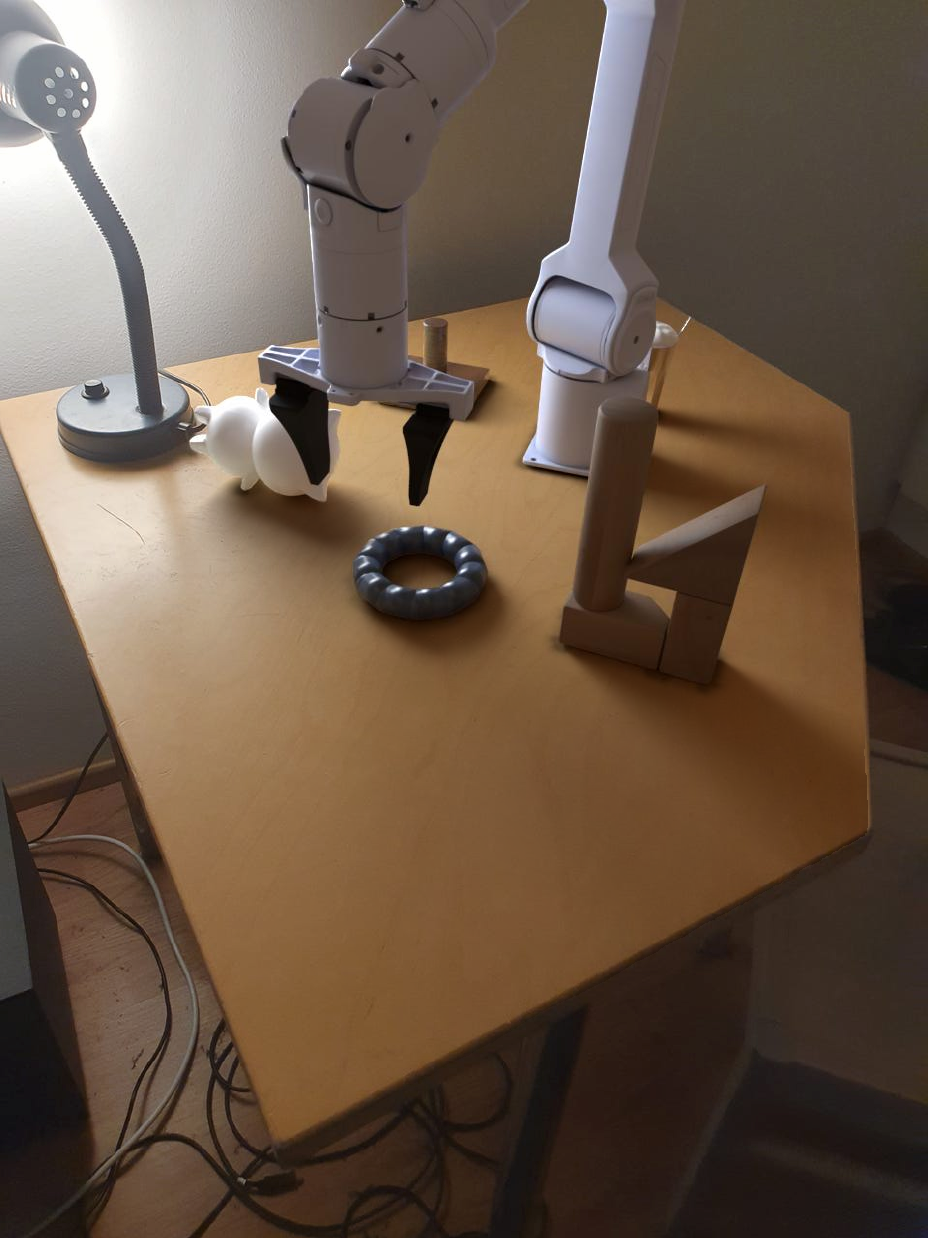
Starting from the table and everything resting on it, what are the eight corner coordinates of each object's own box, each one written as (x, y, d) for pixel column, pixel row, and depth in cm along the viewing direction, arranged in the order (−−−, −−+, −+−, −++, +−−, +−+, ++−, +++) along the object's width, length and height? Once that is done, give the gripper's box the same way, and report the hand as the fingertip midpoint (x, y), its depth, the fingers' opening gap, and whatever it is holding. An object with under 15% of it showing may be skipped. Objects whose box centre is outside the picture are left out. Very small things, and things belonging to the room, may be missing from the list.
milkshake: (674, 425, 89) (694, 326, 83) (619, 423, 89) (635, 324, 83) (667, 403, 93) (686, 306, 86) (614, 401, 93) (629, 304, 86)
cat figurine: (191, 371, 74) (322, 396, 70) (260, 390, 84) (377, 413, 80) (175, 478, 75) (303, 508, 72) (244, 484, 85) (359, 511, 82)
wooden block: (708, 688, 62) (777, 456, 50) (556, 645, 64) (588, 415, 53) (717, 654, 64) (785, 425, 53) (571, 614, 67) (604, 388, 55)
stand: (489, 379, 95) (493, 312, 91) (463, 418, 89) (466, 348, 84) (408, 365, 97) (408, 298, 92) (377, 402, 91) (375, 333, 86)
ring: (500, 558, 72) (502, 535, 70) (462, 638, 65) (463, 614, 63) (382, 532, 74) (381, 510, 73) (332, 607, 67) (330, 584, 65)
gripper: (225, 308, 55) (251, 497, 64) (452, 346, 52) (446, 539, 61) (278, 269, 60) (295, 449, 69) (487, 302, 57) (477, 486, 66)
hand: (368, 488), depth 66 cm, fingers open, 7 cm apart
